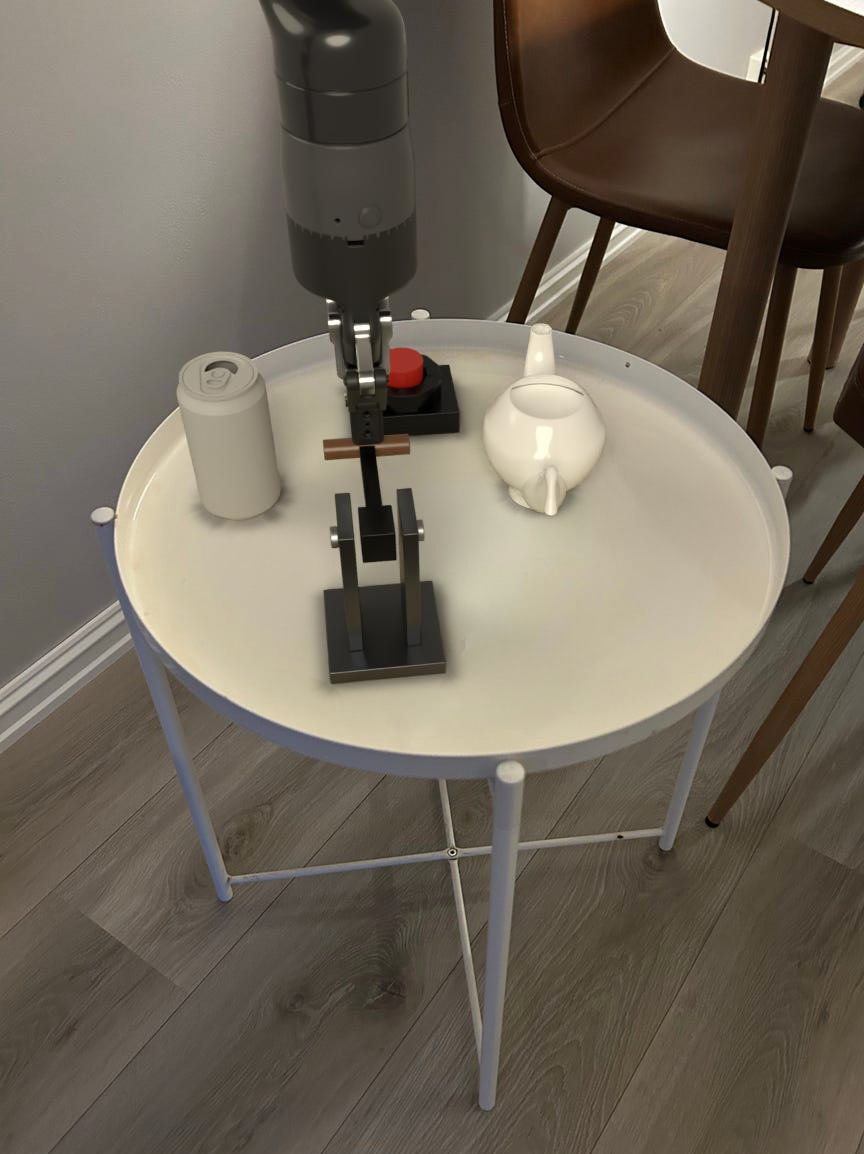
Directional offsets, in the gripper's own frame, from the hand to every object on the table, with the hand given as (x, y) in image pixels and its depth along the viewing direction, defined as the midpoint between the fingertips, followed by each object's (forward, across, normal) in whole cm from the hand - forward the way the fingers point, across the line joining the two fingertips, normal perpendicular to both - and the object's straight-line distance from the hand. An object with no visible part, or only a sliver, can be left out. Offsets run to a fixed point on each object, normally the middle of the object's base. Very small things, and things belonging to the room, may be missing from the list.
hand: (367, 438), depth 75 cm
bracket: (+11, +9, 0) cm, 14 cm away
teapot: (+11, -5, +14) cm, 18 cm away
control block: (+11, -17, +4) cm, 20 cm away
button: (+7, -17, +4) cm, 19 cm away
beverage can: (+11, -7, -10) cm, 16 cm away
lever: (+2, +5, 0) cm, 5 cm away
